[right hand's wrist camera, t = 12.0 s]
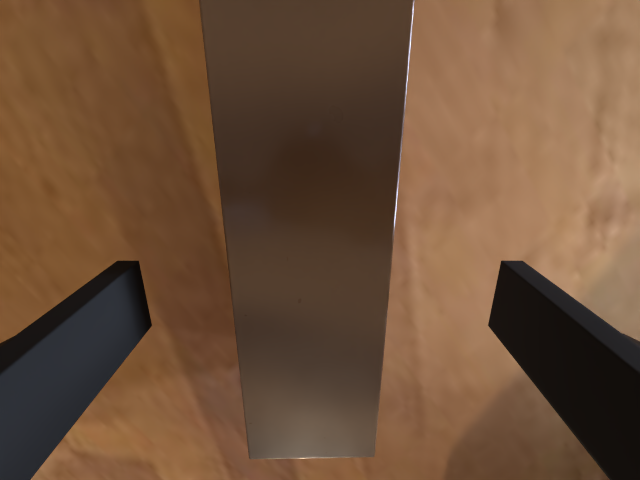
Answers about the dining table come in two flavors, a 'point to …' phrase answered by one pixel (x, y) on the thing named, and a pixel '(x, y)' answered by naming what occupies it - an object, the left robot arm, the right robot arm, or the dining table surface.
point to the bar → (309, 208)
